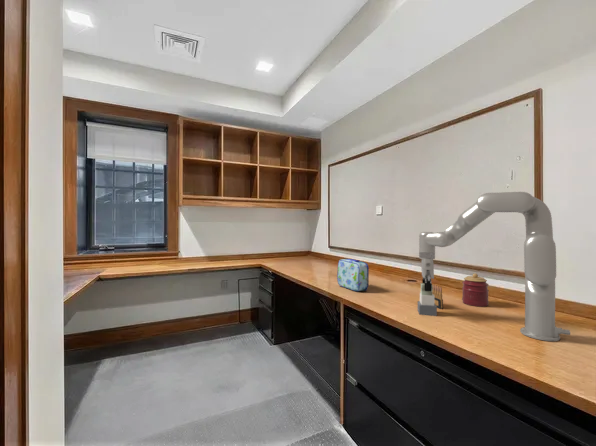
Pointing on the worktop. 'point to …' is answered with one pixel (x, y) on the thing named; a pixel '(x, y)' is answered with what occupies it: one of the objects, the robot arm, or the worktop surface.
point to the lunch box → (353, 274)
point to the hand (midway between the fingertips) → (426, 288)
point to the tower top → (427, 299)
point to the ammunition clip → (437, 296)
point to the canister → (475, 291)
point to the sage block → (424, 290)
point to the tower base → (427, 309)
